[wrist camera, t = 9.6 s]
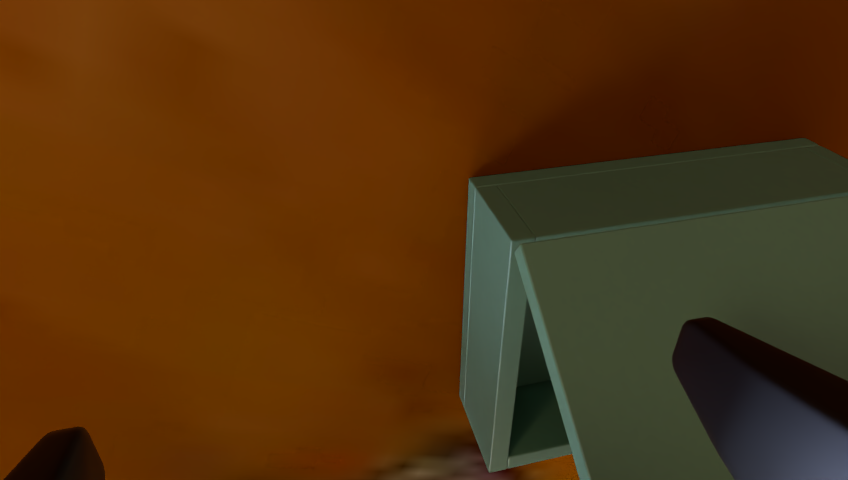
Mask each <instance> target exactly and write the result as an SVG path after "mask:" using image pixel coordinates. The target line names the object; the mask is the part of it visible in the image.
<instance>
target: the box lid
mask: <svg viewBox="0 0 848 480" xmlns="http://www.w3.org/2000/svg"><path fill="white" fill-rule="evenodd" d="M515 257H516V260H517V264H518V267H519V271H520V274H521V278H522V281H523V284H524V288H525V291H526V295H527V298H528V302H529V305H530V309H531V312H532V316H533V319H534V323H535V326H536V329H537V333H538V336H539V340H540V343H541V347H542V350H543V354H544V357H545V361H546V364H547V368H548V371H549V375H550V378H551V381H552V385H553V388H554V392H555V395H556V399H557V402H558V406H559V409H560V413H561V416H562V420H563V423H564V426H565V430H566V433H567V437H568V440H569V444H570V447H571V451H572V454H573V458H574V461H575V465H576V468H577V472H578V475H579V478H580V480H734V478H733V476H732V475H731V473H730V472H729V470H728V469H727V467H726V466H725V464H724V462H723V461H722V459H721V458H720V456H719V454H718V453H717V451H716V449H715V447H714V445H713V444H712V442H711V440H710V438H709V436H708V434H707V432H706V431H705V429H704V427H703V425H702V423H701V421H700V419H699V417H698V415H697V413H696V411H695V409H694V408H693V406H692V404H691V402H690V400H689V398H688V396H687V394H686V392H685V390H684V388H683V387H682V385H681V383H680V381H679V379H678V377H677V375H676V373H675V371H674V368H673V365H672V355H673V352H674V349H675V346H676V343H677V340H678V337H679V334H680V331H681V328H682V326H683V324H684V323H685V322H686V321H688V320H691V319H696V318H702V317H712V318H715V319H717V320H719V321H721V322H723V323H725V324H728V325H730V326H732V327H734V328H736V329H738V330H740V331H742V332H745V333H747V334H749V335H751V336H753V337H755V338H757V339H759V340H762V341H764V342H766V343H768V344H770V345H772V346H774V347H777V348H779V349H781V350H783V351H785V352H787V353H789V354H791V355H794V356H796V357H798V358H800V359H802V360H804V361H806V362H808V363H811V364H813V365H815V366H817V367H819V368H821V369H823V370H826V371H828V372H830V373H832V374H834V375H836V376H838V377H840V378H843V379H845V380H847V381H848V196H844V197H837V198H830V199H823V200H816V201H810V202H803V203H796V204H789V205H782V206H775V207H769V208H762V209H755V210H748V211H741V212H734V213H728V214H721V215H714V216H707V217H700V218H693V219H687V220H680V221H673V222H666V223H659V224H652V225H645V226H639V227H632V228H625V229H618V230H611V231H604V232H598V233H591V234H584V235H577V236H570V237H563V238H557V239H550V240H543V241H536V242H529V243H522V244H520V245H519V247H518V248H517V249H516V251H515Z"/></svg>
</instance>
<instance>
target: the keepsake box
mask: <svg viewBox="0 0 848 480" xmlns="http://www.w3.org/2000/svg"><path fill="white" fill-rule="evenodd" d="M844 196H848V159H846V158H844V157H842V156H840V155H838V154H836V153H834V152H832V151H830V150H828V149H826V148H824V147H822V146H819V145H818V144H816V143H814V142H812V141H810V140H808V139H806V138H798V139H790V140H782V141H773V142H765V143H757V144H748V145H740V146H732V147H723V148H715V149H706V150H698V151H690V152H681V153H673V154H665V155H656V156H648V157H640V158H631V159H623V160H614V161H606V162H598V163H589V164H581V165H573V166H564V167H556V168H548V169H539V170H531V171H522V172H514V173H506V174H497V175H489V176H481V177H472V178H469V190H468V212H467V235H466V257H465V280H464V302H463V325H462V347H461V369H460V392H459V396H460V398H461V401H462V404H463V406H464V409H465V412H466V414H467V417H468V419H469V422H470V425H471V427H472V430H473V432H474V435H475V438H476V440H477V443H478V445H479V448H480V451H481V453H482V456H483V458H484V461H485V464H486V466H487V469H488V471H489V473H491V472H495V471H499V470H504V469H506V468H512V467H516V466H521V465H525V464H529V463H534V462H538V461H543V460H547V459H551V458H556V457H560V456H564V455H569V454H572V451H571V447H570V444H569V440H568V437H567V433H566V430H565V426H564V423H563V420H562V416H561V413H560V409H559V406H558V402H557V399H556V395H555V392H554V388H553V385H552V381H551V378H550V375H549V371H548V368H547V364H546V361H545V357H544V354H543V350H542V347H541V343H540V340H539V336H538V333H537V329H536V326H535V323H534V319H533V316H532V312H531V309H530V305H529V302H528V298H527V295H526V291H525V288H524V284H523V281H522V278H521V274H520V271H519V267H518V264H517V260H516V257H515V251H516V249H517V248H518V247H519V245H520V244H522V243H529V242H536V241H543V240H550V239H557V238H563V237H570V236H577V235H584V234H591V233H598V232H604V231H611V230H618V229H625V228H632V227H639V226H645V225H652V224H659V223H666V222H673V221H680V220H687V219H693V218H700V217H707V216H714V215H721V214H728V213H734V212H741V211H748V210H755V209H762V208H769V207H775V206H782V205H789V204H796V203H803V202H810V201H816V200H823V199H830V198H837V197H844Z"/></svg>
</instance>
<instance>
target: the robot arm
mask: <svg viewBox="0 0 848 480" xmlns="http://www.w3.org/2000/svg"><path fill="white" fill-rule="evenodd" d="M672 365H673V368H674V371H675V373H676V375H677V377H678V379H679V381H680V383H681V385H682V387H683V388H684V390H685V392H686V394H687V396H688V398H689V400H690V402H691V404H692V406H693V408H694V409H695V411H696V413H697V415H698V417H699V419H700V421H701V423H702V425H703V427H704V429H705V431H706V432H707V434H708V436H709V438H710V440H711V442H712V444H713V445H714V447H715V449H716V451H717V453H718V454H719V456H720V458H721V459H722V461H723V462H724V464H725V466H726V467H727V469H728V470H729V472H730V473H731V475H732V476H733V478H734V480H848V381H847V380H845V379H843V378H840V377H838V376H836V375H834V374H832V373H830V372H828V371H826V370H823V369H821V368H819V367H817V366H815V365H813V364H811V363H808V362H806V361H804V360H802V359H800V358H798V357H796V356H794V355H791V354H789V353H787V352H785V351H783V350H781V349H779V348H777V347H774V346H772V345H770V344H768V343H766V342H764V341H762V340H759V339H757V338H755V337H753V336H751V335H749V334H747V333H745V332H742V331H740V330H738V329H736V328H734V327H732V326H730V325H728V324H725V323H723V322H721V321H719V320H717V319H715V318H712V317H702V318H696V319H691V320H688V321H686V322H685V323H684V324H683V326H682V328H681V331H680V334H679V337H678V340H677V343H676V346H675V349H674V352H673V355H672ZM4 480H105V470H104V466H103V463H102V461H101V459H100V456H99V454H98V452H97V450H96V448H95V446H94V444H93V442H92V439H91V437H90V435H89V433H88V432H87V430H86V429H85V428H83V427H74V428H68V429H62V430H56V431H52V432H50V433H48V434H46V435H45V436H44V437H43V438H42V439H41V440H40V441H39V442H38V443H37V444H36V445H35V446H34V447H33V448H32V449H31V450H30V452H29V453H28V454H27V455H26V456H25V457H24V458H23V459H22V460H21V461H20V462H19V463H18V464H17V466H16V467H15V468H14V469H13V470H12V471H11V472H10V473H9V474H8V475H7V476H6V477H5V478H4Z"/></svg>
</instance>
